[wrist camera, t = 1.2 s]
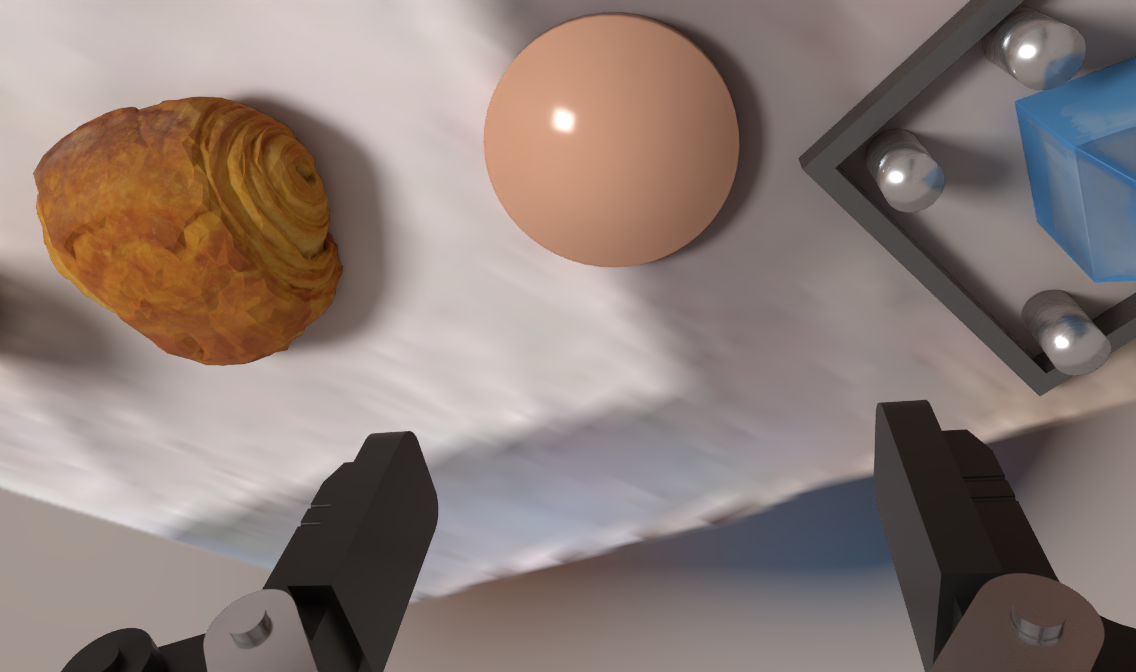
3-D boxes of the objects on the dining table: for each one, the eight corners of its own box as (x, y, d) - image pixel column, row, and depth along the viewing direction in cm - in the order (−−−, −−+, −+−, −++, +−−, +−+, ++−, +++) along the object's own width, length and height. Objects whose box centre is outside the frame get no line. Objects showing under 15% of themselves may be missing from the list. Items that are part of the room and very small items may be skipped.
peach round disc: (599, -50, 33) (597, -47, 32) (792, 136, 36) (795, 144, 35) (441, 152, 39) (435, 160, 38) (620, 298, 42) (618, 309, 41)
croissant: (65, 115, 43) (-69, 165, 37) (293, 56, 38) (182, 101, 31) (190, 338, 50) (95, 413, 43) (399, 315, 44) (326, 397, 38)
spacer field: (1211, -221, 28) (1283, -231, 25) (1446, 115, 33) (1533, 146, 29) (798, 158, 37) (810, 189, 34) (1029, 379, 42) (1059, 426, 38)
